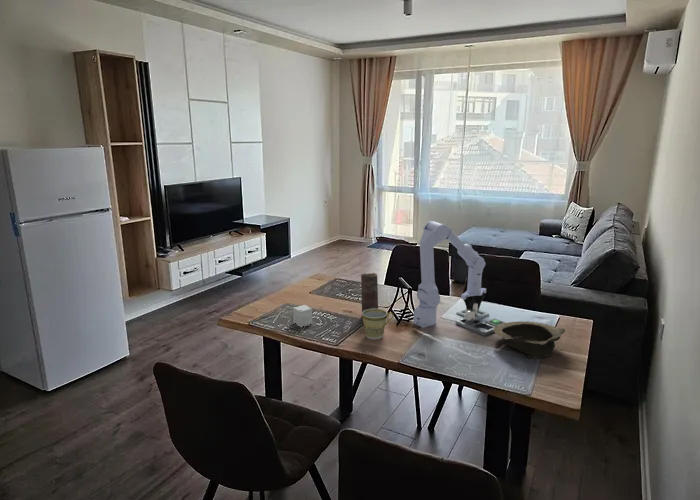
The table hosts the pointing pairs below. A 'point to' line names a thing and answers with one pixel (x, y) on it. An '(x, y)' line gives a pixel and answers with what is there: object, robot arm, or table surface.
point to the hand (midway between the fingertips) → (472, 311)
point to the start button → (496, 322)
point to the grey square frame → (475, 317)
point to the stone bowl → (530, 337)
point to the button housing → (492, 323)
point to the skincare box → (302, 315)
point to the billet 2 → (475, 307)
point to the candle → (369, 291)
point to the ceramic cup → (375, 322)
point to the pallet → (477, 326)
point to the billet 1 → (469, 317)
